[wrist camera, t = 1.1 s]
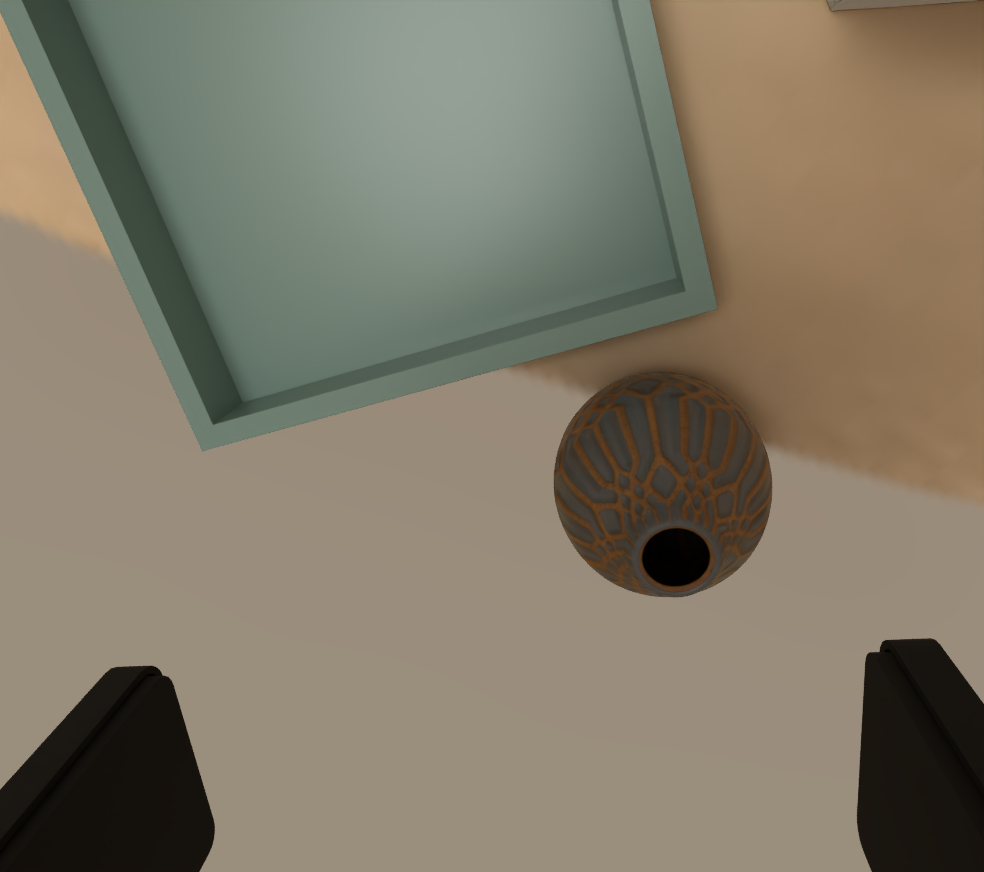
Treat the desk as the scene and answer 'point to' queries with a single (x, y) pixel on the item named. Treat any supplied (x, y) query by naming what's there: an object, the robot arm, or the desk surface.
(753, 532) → the vase
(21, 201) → the desk surface
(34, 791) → the robot arm
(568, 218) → the tray
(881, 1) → the skincare box
